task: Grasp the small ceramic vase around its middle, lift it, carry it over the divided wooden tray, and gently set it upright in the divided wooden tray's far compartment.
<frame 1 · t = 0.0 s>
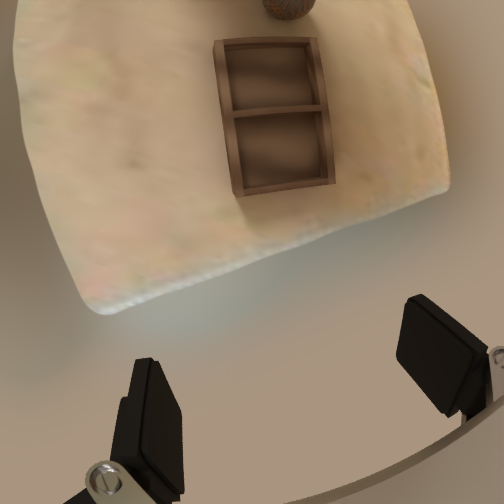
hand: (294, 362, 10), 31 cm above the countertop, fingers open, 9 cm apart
divided wooden tray: (271, 113, 36), on the countertop
vase: (281, 7, 30), on the countertop
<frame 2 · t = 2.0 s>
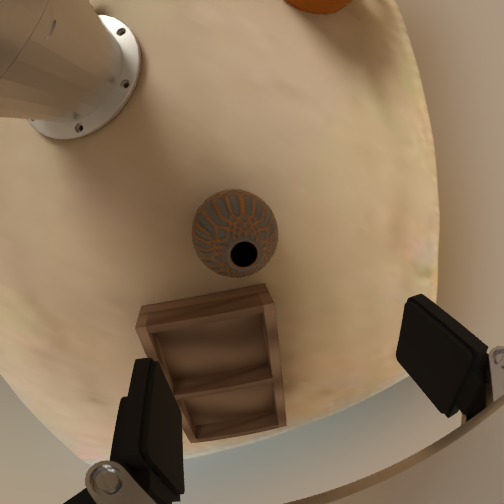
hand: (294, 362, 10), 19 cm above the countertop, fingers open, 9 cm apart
divided wooden tray: (220, 366, 33), on the countertop
vase: (229, 221, 27), on the countertop
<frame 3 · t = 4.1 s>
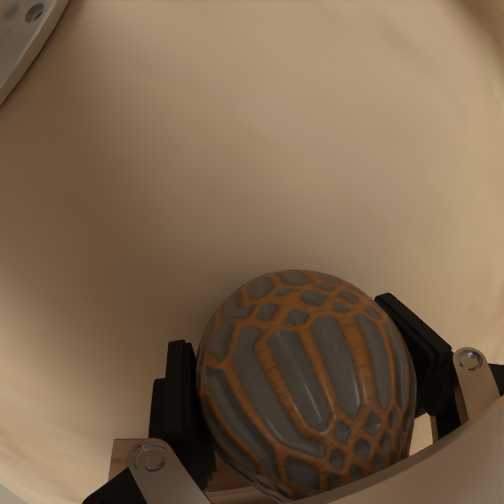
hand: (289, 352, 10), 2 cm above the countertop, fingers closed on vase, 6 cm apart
divided wooden tray: (243, 489, 18), on the countertop
vase: (275, 320, 12), on the countertop, touching gripper
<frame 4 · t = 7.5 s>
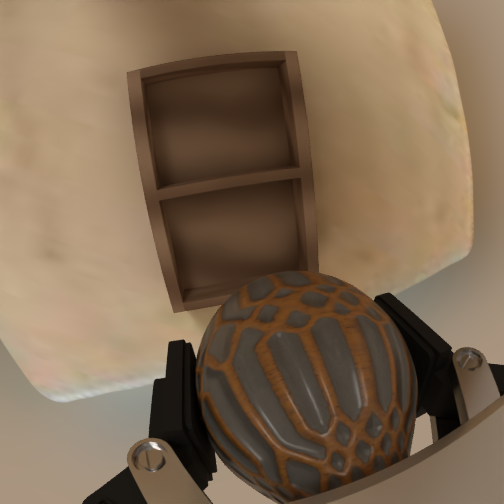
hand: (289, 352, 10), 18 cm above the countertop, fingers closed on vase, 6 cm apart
divided wooden tray: (225, 177, 25), on the countertop
vase: (275, 321, 12), point 16 cm above the countertop, touching gripper
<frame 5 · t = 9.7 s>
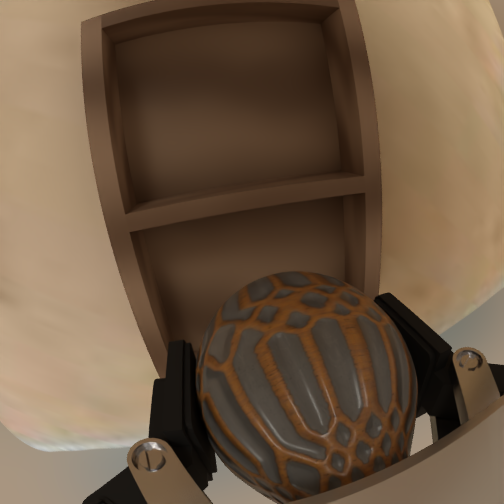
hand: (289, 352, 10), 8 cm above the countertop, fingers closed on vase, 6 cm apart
divided wooden tray: (239, 187, 16), on the countertop
vase: (275, 321, 12), point 6 cm above the countertop, touching gripper
when the fingers open (4 cm above the countertop, at t = 11.3 s): vase stays where it is, resting on divided wooden tray.
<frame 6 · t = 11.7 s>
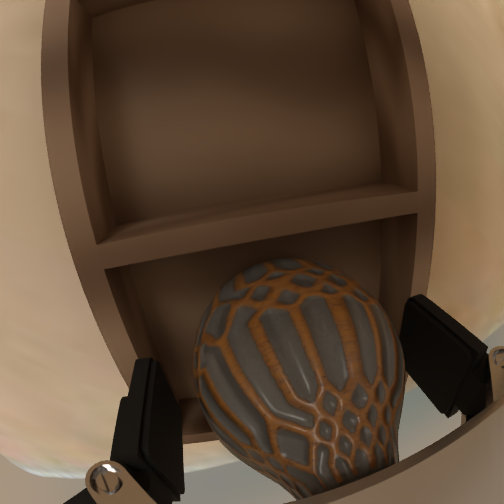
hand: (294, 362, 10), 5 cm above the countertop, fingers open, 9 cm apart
divided wooden tray: (252, 200, 12), on the countertop
vase: (270, 309, 13), point 1 cm above the countertop, touching divided wooden tray
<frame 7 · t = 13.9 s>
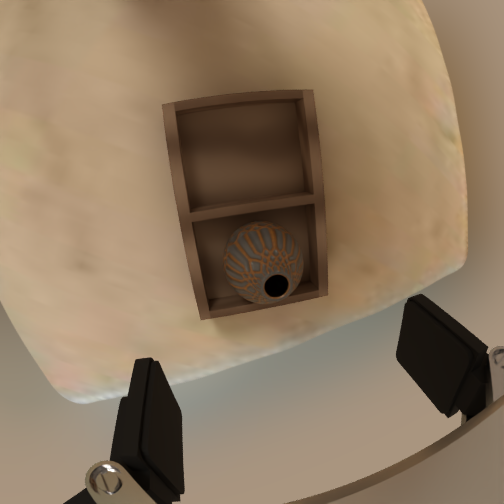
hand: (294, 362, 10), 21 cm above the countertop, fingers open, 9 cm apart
divided wooden tray: (247, 200, 29), on the countertop
vase: (255, 248, 29), point 1 cm above the countertop, touching divided wooden tray
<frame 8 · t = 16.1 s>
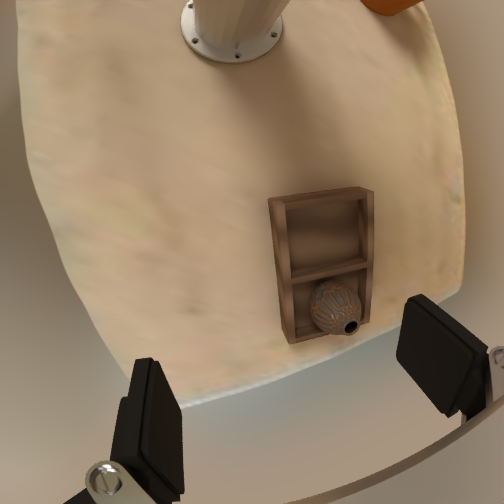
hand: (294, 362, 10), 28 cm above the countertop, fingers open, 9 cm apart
divided wooden tray: (320, 261, 41), on the countertop
vase: (324, 294, 41), point 1 cm above the countertop, touching divided wooden tray
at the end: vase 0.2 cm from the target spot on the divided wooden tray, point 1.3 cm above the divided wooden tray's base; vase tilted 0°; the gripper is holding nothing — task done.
